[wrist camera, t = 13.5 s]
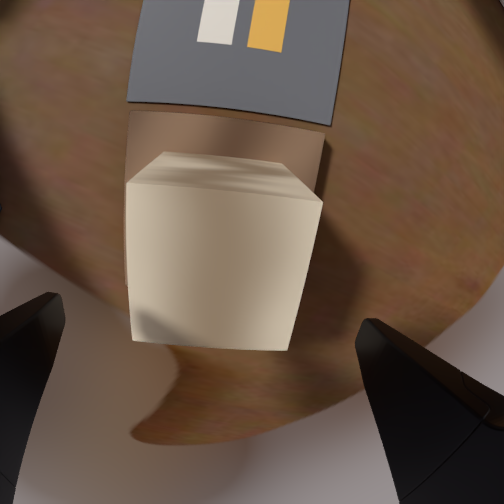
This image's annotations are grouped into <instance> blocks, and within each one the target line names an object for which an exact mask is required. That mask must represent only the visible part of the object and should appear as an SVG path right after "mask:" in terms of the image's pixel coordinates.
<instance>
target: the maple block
mask: <svg viewBox="0 0 504 504" xmlns="http://www.w3.org/2000/svg"><path fill="white" fill-rule="evenodd" d="M322 205H323V202H322V201H321V200H320V199H319V198H318V197H317V196H316V195H315V194H314V193H313V192H312V191H311V190H310V189H309V188H308V187H307V186H306V185H305V184H304V183H302V182H301V181H300V180H299V179H298V178H297V177H296V176H295V175H294V174H293V173H292V172H291V171H290V170H288V169H287V168H286V167H285V166H284V165H283V164H282V163H275V162H267V161H259V160H251V159H243V158H234V157H224V156H214V155H203V154H191V153H178V152H163V153H162V154H161V155H159V156H158V157H157V158H156V159H154V160H153V161H152V162H151V163H149V164H148V165H147V166H146V167H145V168H143V169H142V170H141V171H140V172H139V173H137V174H136V175H135V176H134V177H133V178H132V179H130V180H129V181H128V182H127V183H126V253H127V277H128V294H129V307H130V319H131V329H132V339H133V340H134V341H142V342H151V343H161V344H171V345H182V346H195V347H209V348H225V349H245V350H279V351H287V349H288V345H289V342H290V338H291V334H292V331H293V327H294V323H295V319H296V315H297V312H298V308H299V304H300V300H301V296H302V292H303V288H304V284H305V280H306V276H307V271H308V267H309V263H310V259H311V254H312V250H313V246H314V241H315V237H316V232H317V228H318V223H319V219H320V214H321V210H322Z"/></svg>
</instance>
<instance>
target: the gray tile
mask: <svg viewBox="0 0 504 504" xmlns="http://www.w3.org/2000/svg"><path fill="white" fill-rule="evenodd" d="M348 7H349V0H144V1H143V5H142V10H141V14H140V19H139V24H138V29H137V34H136V40H135V45H134V51H133V57H132V63H131V70H130V77H129V84H128V92H127V101H135V102H161V103H178V104H191V105H203V106H213V107H222V108H231V109H239V110H246V111H253V112H260V113H267V114H273V115H279V116H285V117H290V118H296V119H301V120H306V121H311V122H316V123H321V124H326V125H330V124H331V118H332V113H333V107H334V101H335V95H336V89H337V83H338V77H339V71H340V64H341V58H342V51H343V44H344V37H345V30H346V23H347V15H348Z"/></svg>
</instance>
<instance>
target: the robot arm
mask: <svg viewBox="0 0 504 504" xmlns="http://www.w3.org/2000/svg"><path fill="white" fill-rule="evenodd" d="M64 325H65V313H64V308H63V303H62V298H61V296H60V294H58V293H52V292H46V293H45V294H42V295H40V296H38V297H36V298H34V299H32V300H30V301H28V302H26V303H24V304H22V305H20V306H18V307H16V308H15V309H12V310H11V311H9V312H7V313H5V314H3V315H1V316H0V504H13V499H14V494H15V489H16V488H15V487H16V484H17V479H18V475H19V471H20V467H21V463H22V458H23V455H24V452H25V448H26V445H27V441H28V437H29V434H30V431H31V428H32V424H33V421H34V418H35V415H36V412H37V409H38V406H39V403H40V400H41V397H42V394H43V391H44V389H45V386H46V383H47V380H48V378H49V375H50V373H51V370H52V367H53V364H54V360H55V357H56V353H57V350H58V346H59V342H60V339H61V336H62V332H63V329H64ZM355 348H356V352H357V356H358V361H359V365H360V370H361V374H362V379H363V383H364V387H365V390H366V393H367V396H368V399H369V402H370V406H371V409H372V412H373V415H374V418H375V421H376V424H377V427H378V431H379V434H380V437H381V440H382V443H383V447H384V450H385V453H386V457H387V460H388V463H389V467H390V470H391V474H392V478H393V481H394V485H395V488H396V492H397V496H398V499H399V501H400V502H399V504H504V396H503V395H501V394H499V393H498V392H496V391H494V390H492V389H490V388H489V387H487V386H485V385H483V384H482V383H480V382H478V381H477V380H475V379H473V378H472V377H470V376H468V375H467V374H465V373H464V372H460V370H459V369H457V368H456V367H454V366H452V365H451V364H449V363H448V362H446V361H444V360H443V359H441V358H440V357H438V356H437V355H435V354H433V353H432V352H430V351H429V350H427V349H425V348H424V347H422V346H421V345H419V344H417V343H416V342H414V341H413V340H411V339H409V338H408V337H406V336H405V335H403V334H401V333H400V332H398V331H397V330H395V329H393V328H392V327H390V326H389V325H387V324H385V323H384V322H382V321H380V320H379V319H377V318H366V319H364V321H363V322H362V325H361V327H360V330H359V332H358V335H357V337H356V340H355Z"/></svg>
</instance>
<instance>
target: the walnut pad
mask: <svg viewBox="0 0 504 504" xmlns="http://www.w3.org/2000/svg"><path fill="white" fill-rule="evenodd" d="M324 138H325V134H324V133H321V132H316V131H311V130H306V129H301V128H295V127H290V126H284V125H278V124H272V123H265V122H258V121H251V120H244V119H236V118H228V117H219V116H210V115H199V114H188V113H174V112H158V111H130V113H129V124H128V135H127V148H126V164H125V187H124V262H125V285H127V286H128V277H127V253H126V183H127V182H128V181H129V180H130V179H132V178H133V177H134V176H135V175H136V174H137V173H139V172H140V171H141V170H142V169H143V168H145V167H146V166H147V165H148V164H149V163H151V162H152V161H153V160H154V159H156V158H157V157H158V156H159V155H161V154H162V153H163V152H178V153H191V154H203V155H214V156H224V157H234V158H243V159H251V160H259V161H267V162H275V163H282V164H283V165H284V166H285V167H286V168H287V169H288V170H290V171H291V172H292V173H293V174H294V175H295V176H296V177H297V178H298V179H299V180H300V181H301V182H302V183H304V184H305V185H306V186H307V187H308V188H309V189H310V190H311V191H312V192H313V193H314V189H315V184H316V179H317V174H318V169H319V164H320V159H321V154H322V148H323V143H324Z"/></svg>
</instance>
